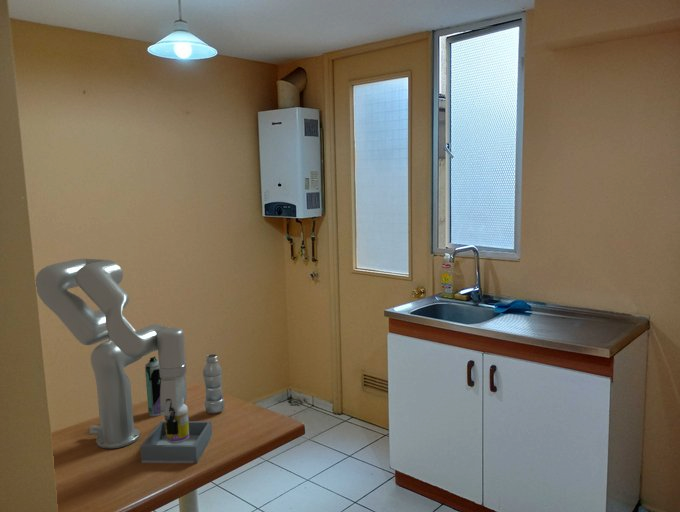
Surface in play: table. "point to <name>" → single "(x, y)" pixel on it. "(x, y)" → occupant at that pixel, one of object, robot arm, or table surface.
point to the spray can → (153, 387)
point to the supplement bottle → (180, 426)
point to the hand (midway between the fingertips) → (177, 427)
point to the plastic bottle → (213, 385)
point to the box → (185, 452)
